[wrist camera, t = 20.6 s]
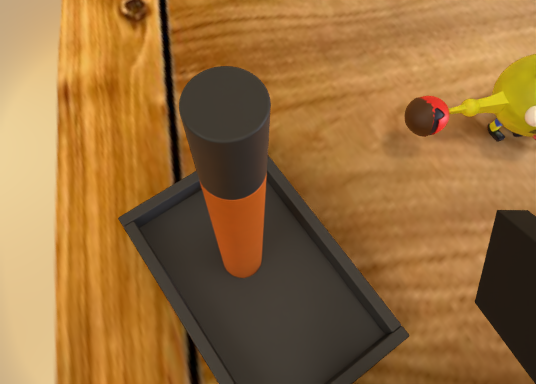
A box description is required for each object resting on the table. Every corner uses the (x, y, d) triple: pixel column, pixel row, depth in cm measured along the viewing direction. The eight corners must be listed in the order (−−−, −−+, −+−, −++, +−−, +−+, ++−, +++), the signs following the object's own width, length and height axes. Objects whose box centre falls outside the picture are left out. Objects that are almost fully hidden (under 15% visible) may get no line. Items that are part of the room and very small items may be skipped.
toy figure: (402, 189, 30) (441, 141, 23) (376, 122, 32) (405, 60, 25) (632, 139, 32) (724, 82, 25) (593, 78, 34) (670, 12, 27)
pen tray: (126, 227, 28) (117, 217, 26) (253, 150, 31) (253, 136, 29) (262, 449, 23) (263, 456, 22) (399, 338, 26) (410, 335, 24)
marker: (242, 232, 28) (226, 50, 12) (269, 258, 27) (289, 102, 11) (215, 258, 27) (159, 101, 11) (241, 286, 26) (222, 159, 11)
